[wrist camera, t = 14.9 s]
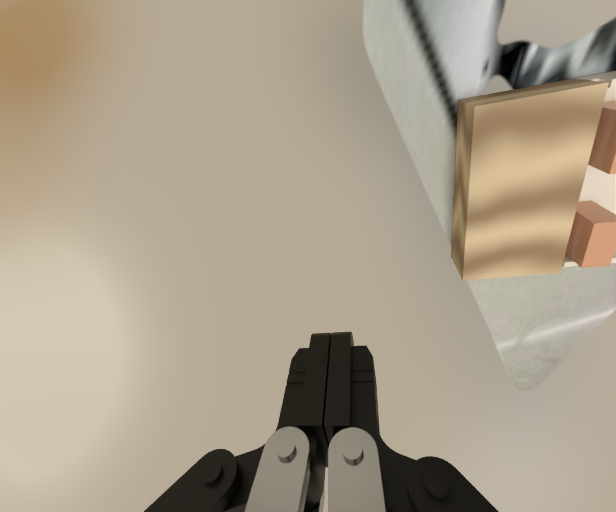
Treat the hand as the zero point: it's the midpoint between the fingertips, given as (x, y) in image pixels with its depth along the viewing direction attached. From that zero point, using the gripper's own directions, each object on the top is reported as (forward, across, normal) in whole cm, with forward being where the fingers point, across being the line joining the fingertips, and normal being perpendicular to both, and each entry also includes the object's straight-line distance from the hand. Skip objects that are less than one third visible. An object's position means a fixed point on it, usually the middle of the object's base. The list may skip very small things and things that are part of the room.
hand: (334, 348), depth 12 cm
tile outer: (+24, -22, +11) cm, 34 cm away
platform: (+27, -16, +5) cm, 32 cm away
